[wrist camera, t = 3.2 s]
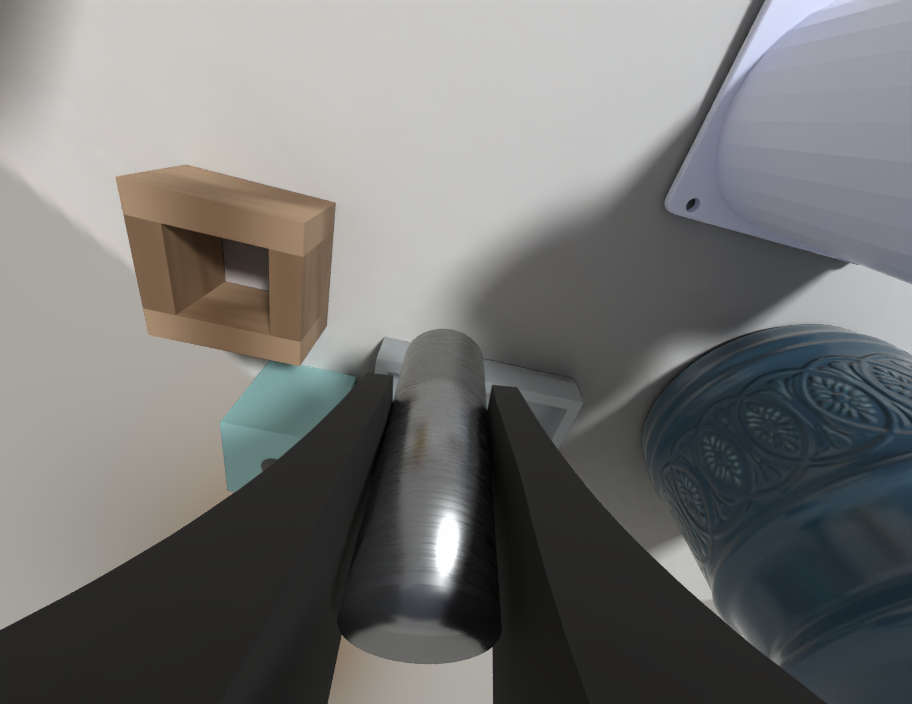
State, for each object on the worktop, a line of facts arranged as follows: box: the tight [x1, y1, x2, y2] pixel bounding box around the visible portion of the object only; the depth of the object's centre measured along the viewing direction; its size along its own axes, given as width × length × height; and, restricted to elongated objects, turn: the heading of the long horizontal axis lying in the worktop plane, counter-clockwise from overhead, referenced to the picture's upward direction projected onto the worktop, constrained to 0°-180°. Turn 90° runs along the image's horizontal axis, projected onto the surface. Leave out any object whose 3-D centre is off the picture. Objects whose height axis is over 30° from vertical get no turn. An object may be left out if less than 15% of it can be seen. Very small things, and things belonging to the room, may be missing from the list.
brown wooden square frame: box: [116, 165, 336, 366], centre depth 16 cm, size 6×6×4 cm
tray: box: [374, 337, 584, 450], centre depth 22 cm, size 10×10×2 cm
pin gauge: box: [337, 329, 502, 664], centre depth 9 cm, size 2×2×7 cm
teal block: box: [220, 360, 356, 492], centre depth 20 cm, size 4×4×5 cm
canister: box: [642, 324, 912, 704], centre depth 14 cm, size 13×13×18 cm
